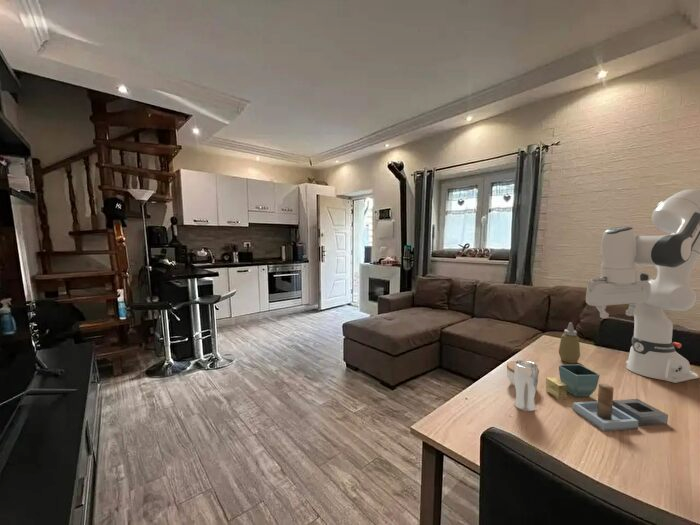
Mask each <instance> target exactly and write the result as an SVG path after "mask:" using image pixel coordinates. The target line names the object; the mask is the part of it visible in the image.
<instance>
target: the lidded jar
mask: <svg viewBox="0 0 700 525" xmlns="http://www.w3.org/2000/svg"><path fill="white" fill-rule="evenodd" d="M516 361H517V360H516ZM516 361H515V360H514V361H509V362H507V363H506V374H507V375H506V376H507V378H508V380H509V382H510V383H511V384H512V385H513V387H514V388H515V382H514V369H515V362H516ZM539 373H540V369H539V368H538V375H539Z"/></svg>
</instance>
